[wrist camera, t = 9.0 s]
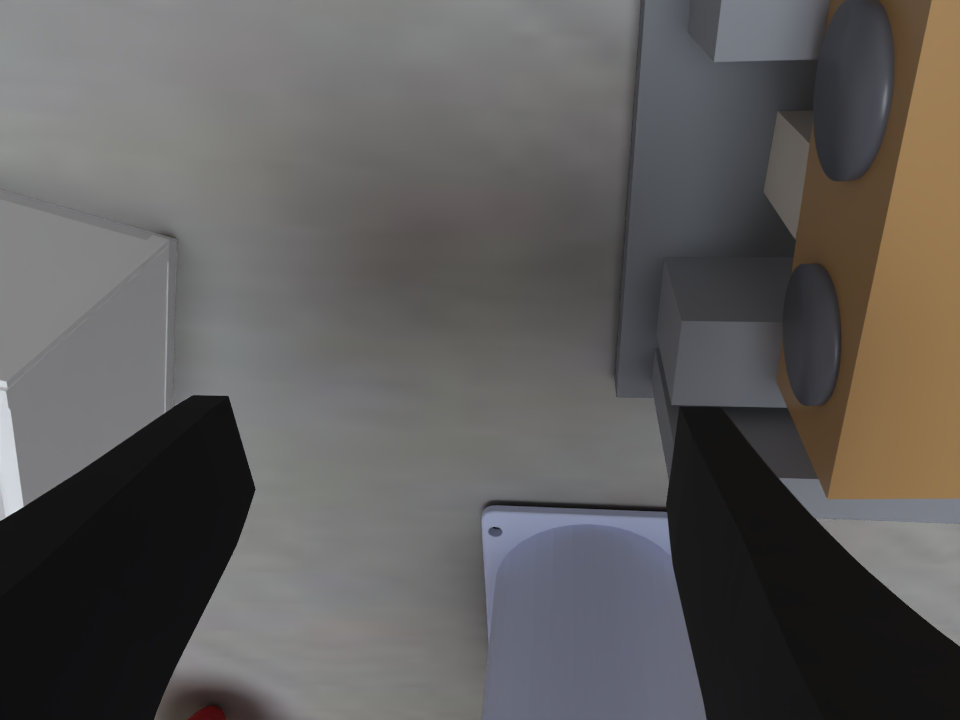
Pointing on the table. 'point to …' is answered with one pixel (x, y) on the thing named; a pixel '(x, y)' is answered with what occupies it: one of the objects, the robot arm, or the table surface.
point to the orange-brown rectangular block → (880, 257)
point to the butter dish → (77, 340)
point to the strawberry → (209, 714)
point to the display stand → (725, 227)
